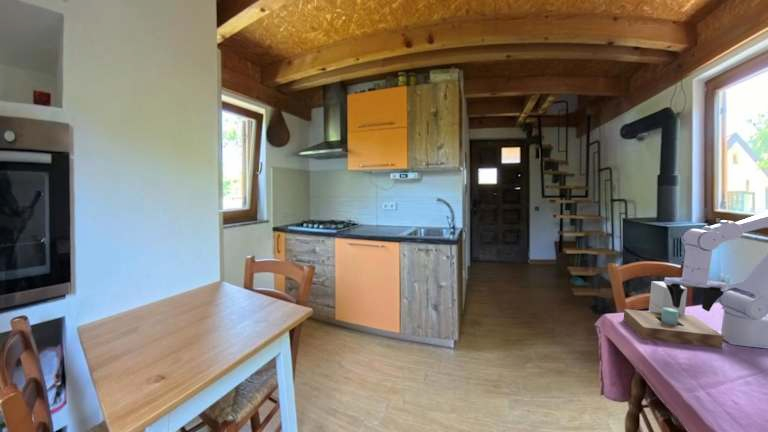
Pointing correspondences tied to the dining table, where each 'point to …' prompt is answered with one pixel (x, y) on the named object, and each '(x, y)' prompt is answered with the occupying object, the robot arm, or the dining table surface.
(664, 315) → the peg
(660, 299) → the supplement box
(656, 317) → the socket block
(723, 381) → the dining table surface
